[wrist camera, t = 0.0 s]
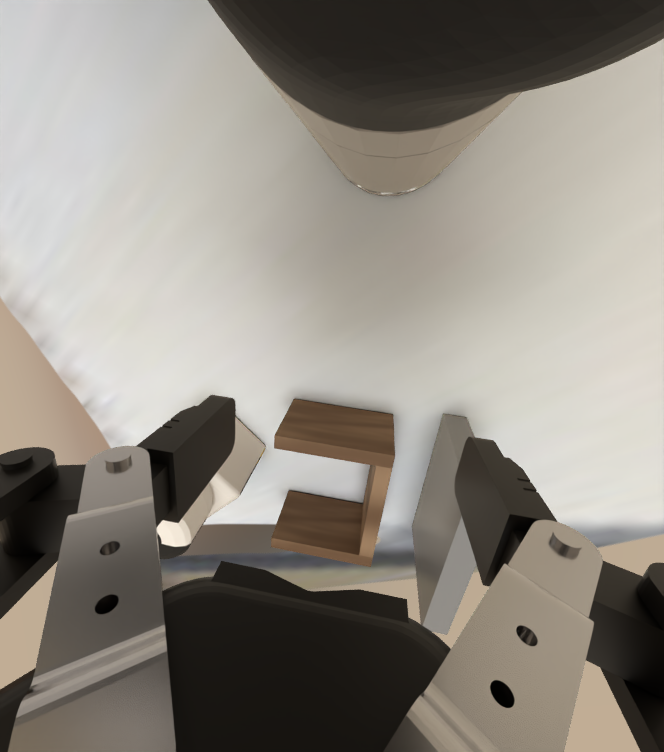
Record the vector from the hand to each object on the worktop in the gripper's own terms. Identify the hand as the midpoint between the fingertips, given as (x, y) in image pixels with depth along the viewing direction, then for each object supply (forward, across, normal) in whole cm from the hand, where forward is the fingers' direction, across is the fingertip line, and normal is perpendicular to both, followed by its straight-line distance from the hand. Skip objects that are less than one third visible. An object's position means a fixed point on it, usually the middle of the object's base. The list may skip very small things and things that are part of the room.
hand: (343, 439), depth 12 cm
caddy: (+18, +1, +13) cm, 23 cm away
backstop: (+18, -9, +13) cm, 24 cm away
